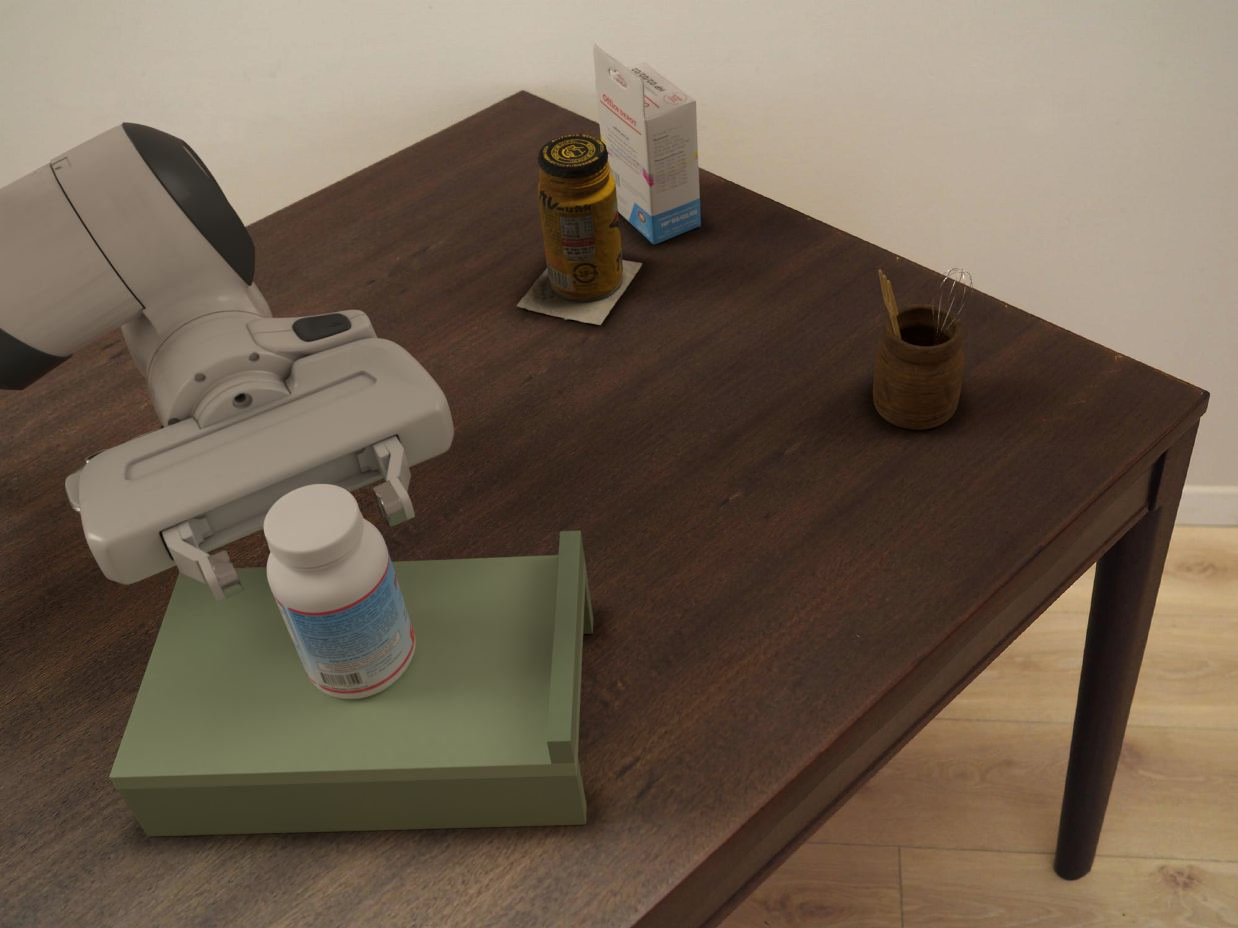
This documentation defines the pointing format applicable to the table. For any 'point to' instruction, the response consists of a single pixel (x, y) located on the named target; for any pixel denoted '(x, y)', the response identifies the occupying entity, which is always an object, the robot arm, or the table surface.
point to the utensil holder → (919, 362)
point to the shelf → (368, 710)
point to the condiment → (578, 233)
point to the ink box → (649, 147)
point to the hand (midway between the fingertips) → (315, 550)
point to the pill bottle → (337, 592)
